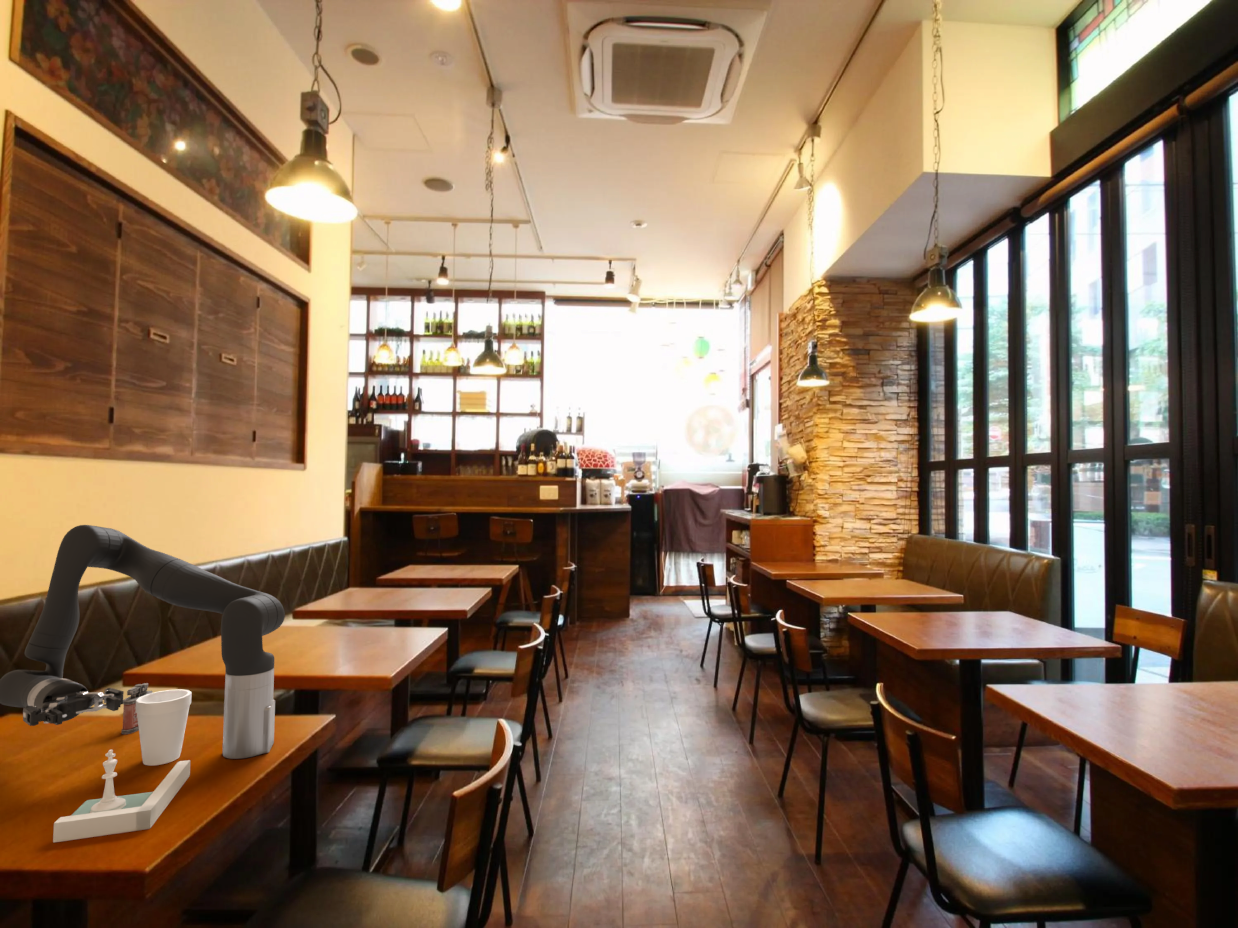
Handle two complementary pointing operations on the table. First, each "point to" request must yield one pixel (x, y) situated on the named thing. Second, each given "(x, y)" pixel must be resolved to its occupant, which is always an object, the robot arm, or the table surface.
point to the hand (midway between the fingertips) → (89, 711)
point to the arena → (123, 810)
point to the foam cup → (162, 724)
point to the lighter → (132, 708)
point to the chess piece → (109, 788)
